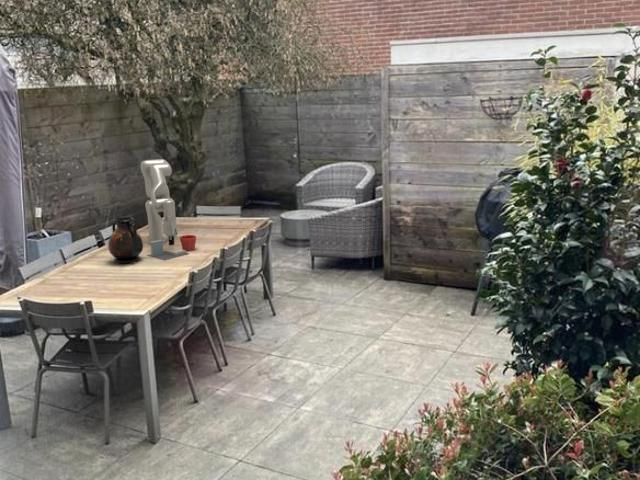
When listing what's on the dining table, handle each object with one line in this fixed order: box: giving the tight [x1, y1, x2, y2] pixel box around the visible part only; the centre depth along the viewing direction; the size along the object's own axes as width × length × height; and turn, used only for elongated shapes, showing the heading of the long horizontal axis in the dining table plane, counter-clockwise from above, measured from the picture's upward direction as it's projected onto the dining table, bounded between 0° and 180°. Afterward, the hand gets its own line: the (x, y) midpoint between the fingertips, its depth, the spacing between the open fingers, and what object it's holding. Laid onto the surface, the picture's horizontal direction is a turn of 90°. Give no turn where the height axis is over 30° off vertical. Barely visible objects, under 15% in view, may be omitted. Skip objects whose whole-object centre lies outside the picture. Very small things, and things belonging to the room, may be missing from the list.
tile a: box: [166, 247, 186, 256], centre depth 403 cm, size 2×8×10 cm
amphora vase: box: [107, 216, 144, 265], centre depth 384 cm, size 22×22×28 cm
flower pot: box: [179, 234, 197, 252], centre depth 412 cm, size 11×11×10 cm
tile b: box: [150, 240, 164, 256], centre depth 398 cm, size 2×8×10 cm, turn 141°
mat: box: [146, 250, 190, 261], centre depth 400 cm, size 20×21×1 cm
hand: (171, 244), depth 405 cm, fingers closed
